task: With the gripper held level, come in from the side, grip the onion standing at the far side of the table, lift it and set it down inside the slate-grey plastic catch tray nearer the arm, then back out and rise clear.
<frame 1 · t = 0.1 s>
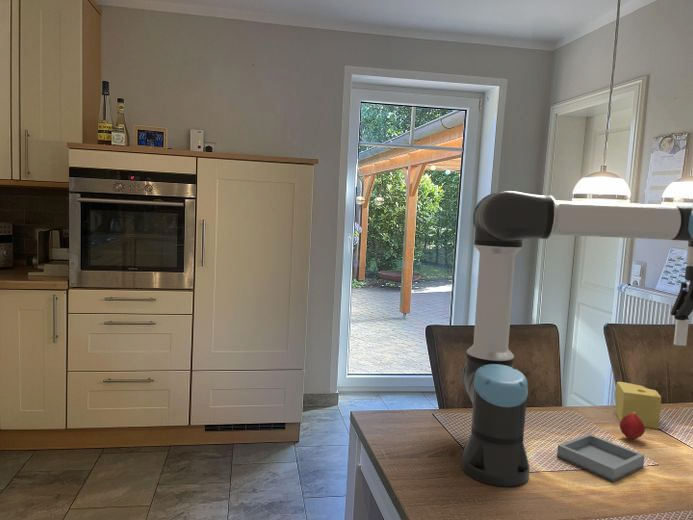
onion: (630, 440, 138), on the table
catch tray: (599, 461, 124), on the table
cheese: (635, 421, 152), on the table
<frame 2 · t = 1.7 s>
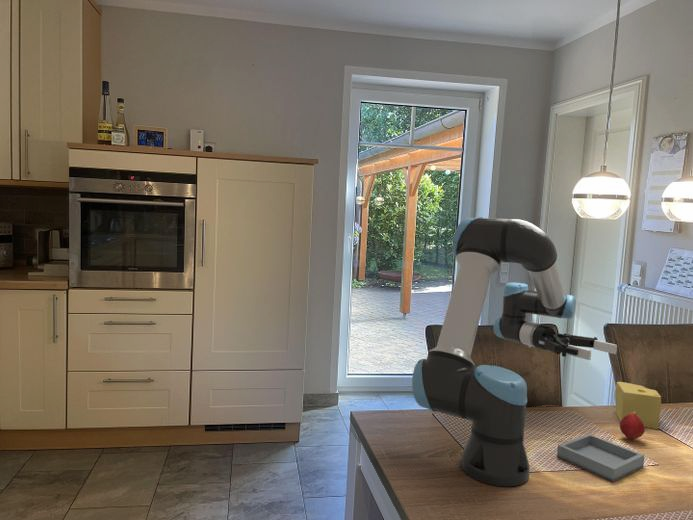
hand: (603, 352, 144), 22 cm above the table, tool horizontal, fingers open, 13 cm apart
nothing on the table moved.
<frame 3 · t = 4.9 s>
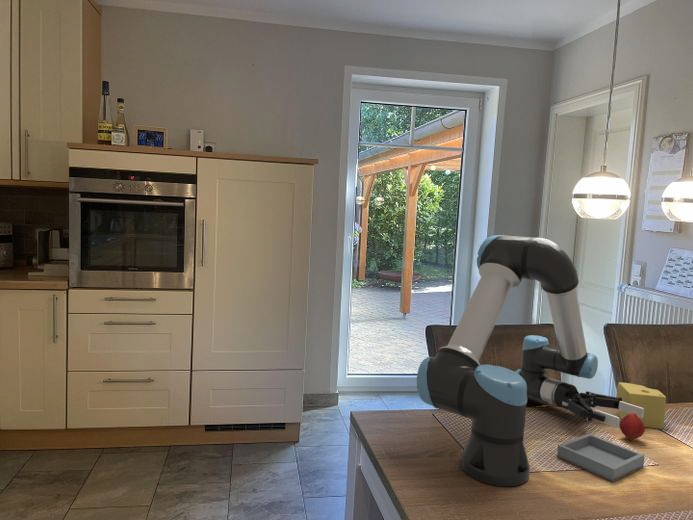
hand: (631, 417, 138), 6 cm above the table, tool horizontal, fingers open, 13 cm apart
cheese: (638, 422, 152), on the table, touching gripper
everything else where it was.
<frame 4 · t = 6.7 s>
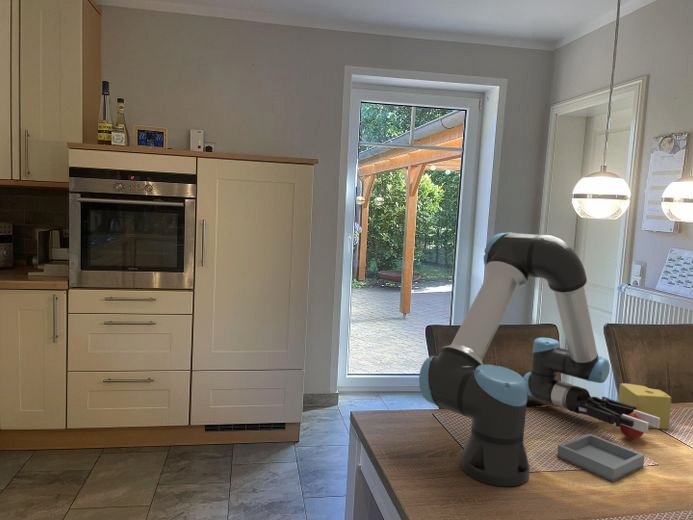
hand: (653, 425, 133), 6 cm above the table, tool horizontal, fingers closed on onion, 6 cm apart
onion: (630, 440, 138), on the table, touching gripper
cheese: (642, 422, 151), on the table
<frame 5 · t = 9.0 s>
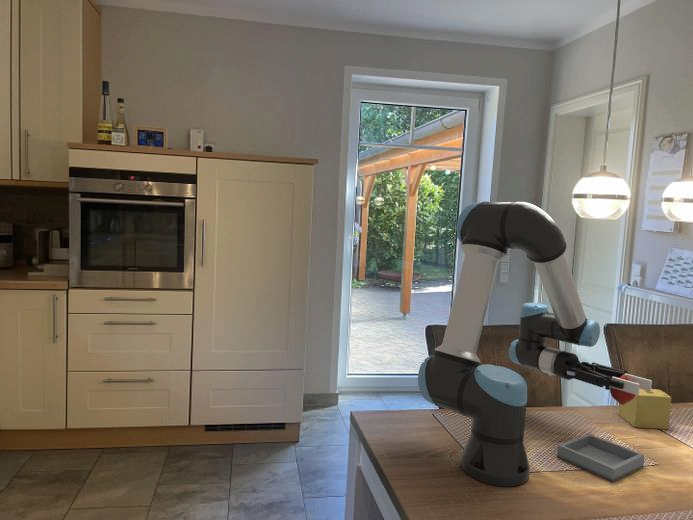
hand: (644, 387, 126), 18 cm above the table, tool horizontal, fingers closed on onion, 6 cm apart
onion: (621, 405, 131), point 12 cm above the table, touching gripper
everything else where it was.
when the fingers open (8 cm above the table, at t = 11.8 s): onion stays where it is, resting on catch tray.
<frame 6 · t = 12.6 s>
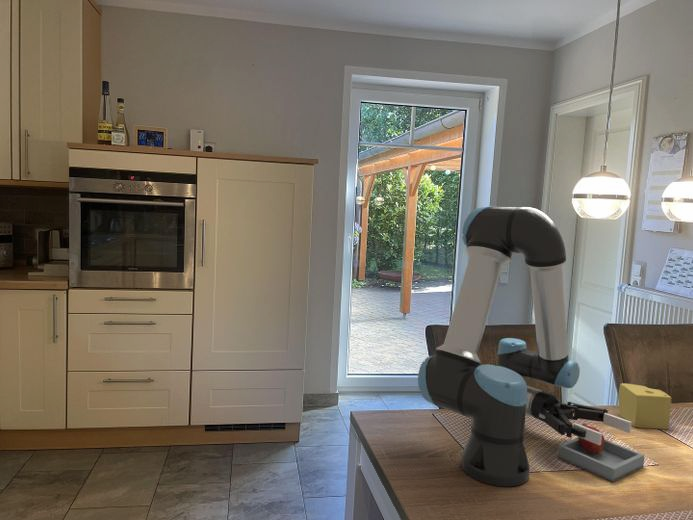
hand: (616, 433, 121), 8 cm above the table, tool horizontal, fingers open, 13 cm apart
onion: (599, 454, 125), point 2 cm above the table, touching catch tray
everything else where it was.
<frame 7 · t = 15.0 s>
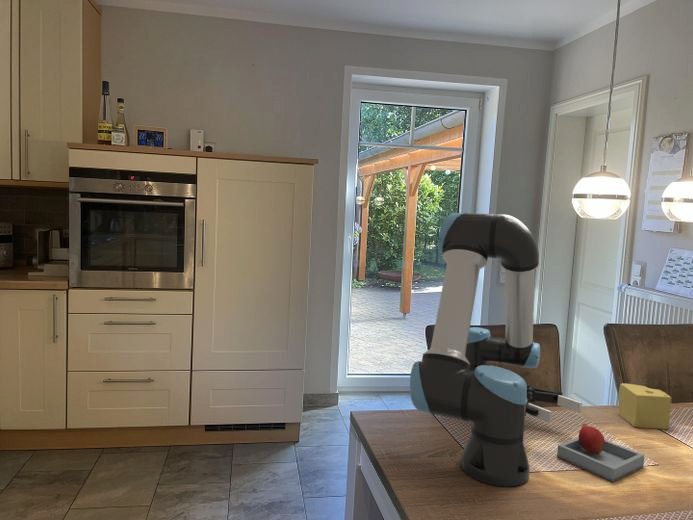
hand: (566, 412, 132), 9 cm above the table, tool horizontal, fingers open, 13 cm apart
nothing on the table moved.
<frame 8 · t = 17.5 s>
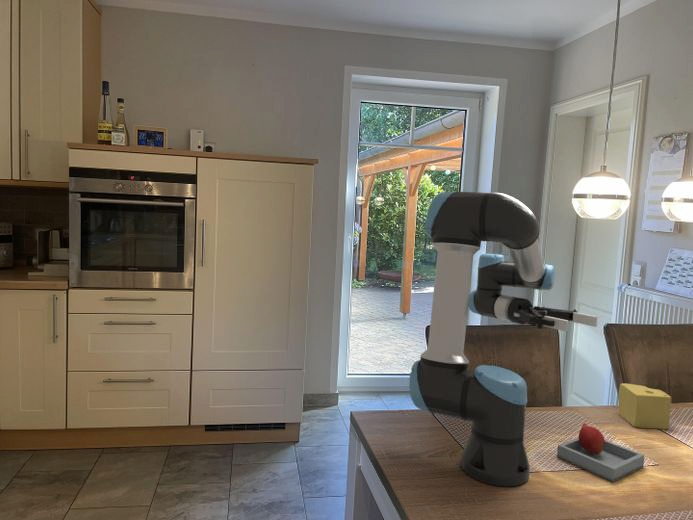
hand: (582, 323, 132), 32 cm above the table, tool horizontal, fingers open, 13 cm apart
nothing on the table moved.
at the end: onion inside the target area on the catch tray (0.4 cm from its centre), point 1.7 cm above the catch tray's base; the gripper is holding nothing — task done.
